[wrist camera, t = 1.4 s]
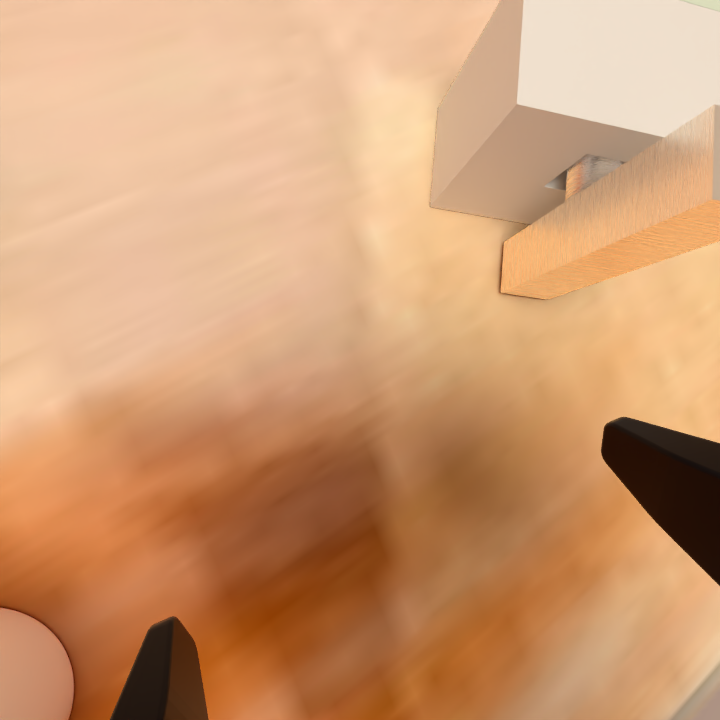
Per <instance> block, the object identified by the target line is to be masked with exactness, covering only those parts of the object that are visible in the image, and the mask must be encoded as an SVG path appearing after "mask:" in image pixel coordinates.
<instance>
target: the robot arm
mask: <svg viewBox="0 0 720 720" xmlns="http://www.w3.org/2000/svg"><path fill="white" fill-rule="evenodd" d="M601 453H602V457H603V459H604V461H605V462H606V464H607V465H608V466H609V467H610V468H611V470H612V471H613V472H614V473H615V474H616V476H617V477H618V478H619V479H620V480H621V482H622V483H623V484H624V485H625V486H626V488H627V489H628V490H629V491H630V492H631V494H632V495H633V496H634V497H635V498H636V499H637V501H638V502H639V503H640V504H641V505H642V507H643V508H644V509H645V510H646V511H647V513H648V514H649V515H650V516H651V517H652V518H653V519H654V520H655V522H656V523H657V524H658V525H659V526H660V527H661V528H662V529H663V530H664V531H665V532H666V533H667V534H668V535H669V536H670V537H671V538H672V539H673V540H674V541H675V542H676V543H677V544H678V545H679V546H680V547H681V548H682V549H683V550H684V551H685V552H686V553H687V554H688V555H689V556H690V557H691V558H692V559H693V560H694V561H695V562H696V563H697V564H698V565H699V566H700V567H701V568H702V569H703V570H704V571H705V572H706V573H707V574H708V575H709V576H710V577H711V578H712V579H713V580H714V581H715V582H716V583H717V584H718V585H719V586H720V443H717V442H713V441H710V440H706V439H703V438H699V437H695V436H692V435H688V434H685V433H681V432H678V431H674V430H671V429H667V428H664V427H660V426H656V425H653V424H649V423H646V422H642V421H639V420H635V419H632V418H628V417H620V418H618V419H615V420H613V421H611V422H609V423H607V424H606V425H605V427H604V431H603V439H602V447H601ZM110 720H208V714H207V708H206V702H205V695H204V689H203V683H202V677H201V671H200V664H199V658H198V652H197V648H196V645H195V642H194V640H193V638H192V637H191V635H190V634H189V633H188V631H187V630H186V629H185V627H184V626H183V625H182V623H181V622H180V621H179V619H178V618H177V617H174V616H172V617H169V618H167V619H165V620H162V621H160V622H158V623H156V624H154V625H152V626H151V627H150V629H149V630H148V632H147V634H146V636H145V639H144V641H143V643H142V646H141V648H140V650H139V653H138V655H137V657H136V660H135V662H134V664H133V667H132V669H131V671H130V674H129V676H128V678H127V681H126V683H125V685H124V688H123V690H122V692H121V695H120V697H119V699H118V702H117V704H116V706H115V709H114V711H113V713H112V716H111V718H110Z"/></svg>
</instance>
